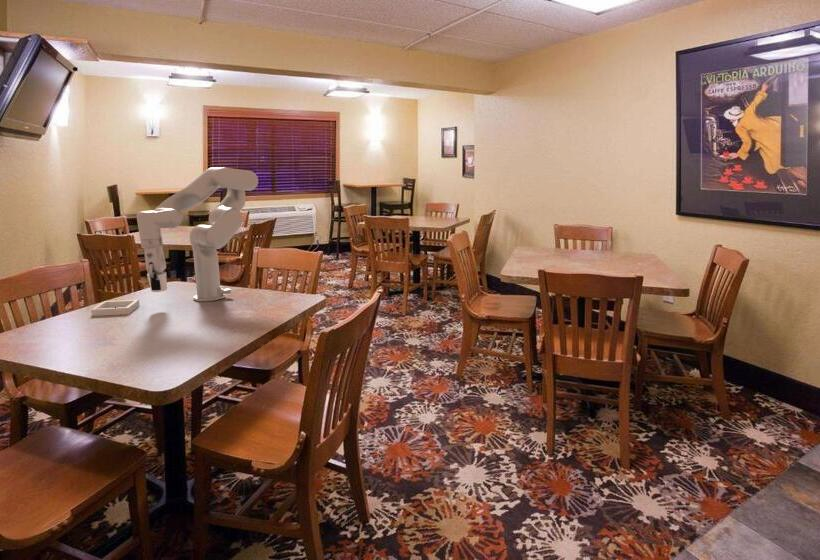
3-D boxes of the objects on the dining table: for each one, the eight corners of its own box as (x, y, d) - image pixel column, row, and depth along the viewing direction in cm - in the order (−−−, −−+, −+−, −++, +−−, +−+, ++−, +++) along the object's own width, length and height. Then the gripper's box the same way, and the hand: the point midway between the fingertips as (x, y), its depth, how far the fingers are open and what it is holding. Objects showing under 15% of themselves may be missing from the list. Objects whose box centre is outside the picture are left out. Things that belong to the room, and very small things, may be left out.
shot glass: (172, 289, 196) (169, 272, 195) (155, 293, 191) (153, 275, 189) (162, 287, 200) (159, 270, 198) (145, 291, 194) (143, 274, 193)
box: (139, 305, 200) (138, 299, 200) (129, 314, 188) (128, 307, 188) (104, 307, 198) (103, 301, 197) (91, 316, 186) (91, 309, 185)
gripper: (156, 246, 183) (163, 292, 188) (167, 239, 200) (174, 281, 204) (134, 247, 182) (142, 294, 186) (147, 240, 198) (154, 283, 203)
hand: (158, 287), depth 195 cm, fingers closed on shot glass, 6 cm apart
